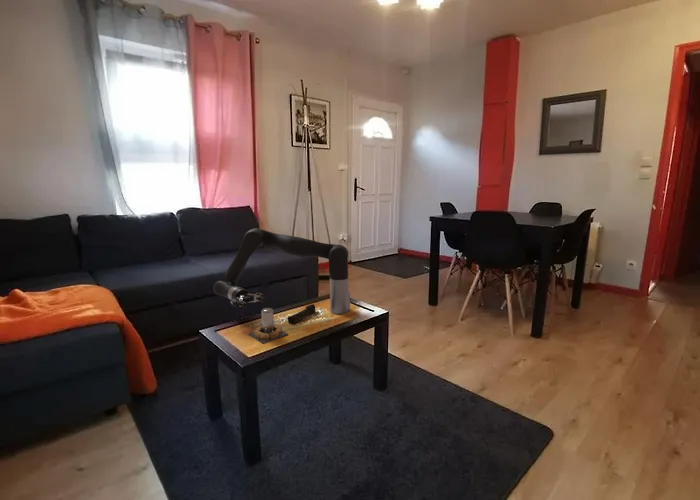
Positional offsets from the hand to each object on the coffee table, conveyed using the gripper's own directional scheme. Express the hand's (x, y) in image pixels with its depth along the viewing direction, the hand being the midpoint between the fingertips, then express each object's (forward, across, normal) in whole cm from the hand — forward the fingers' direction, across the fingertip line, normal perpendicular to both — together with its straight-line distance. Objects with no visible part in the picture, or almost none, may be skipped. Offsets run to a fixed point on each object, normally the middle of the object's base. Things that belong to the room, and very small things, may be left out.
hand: (255, 303), depth 161 cm
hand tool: (+4, +22, +12) cm, 26 cm away
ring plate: (+11, 0, +12) cm, 16 cm away
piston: (+10, 0, +11) cm, 15 cm away
